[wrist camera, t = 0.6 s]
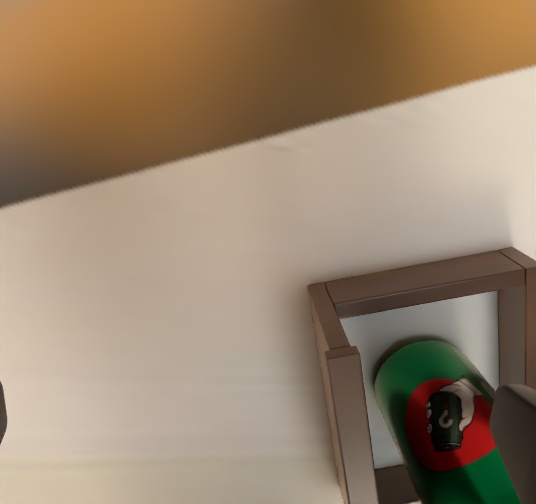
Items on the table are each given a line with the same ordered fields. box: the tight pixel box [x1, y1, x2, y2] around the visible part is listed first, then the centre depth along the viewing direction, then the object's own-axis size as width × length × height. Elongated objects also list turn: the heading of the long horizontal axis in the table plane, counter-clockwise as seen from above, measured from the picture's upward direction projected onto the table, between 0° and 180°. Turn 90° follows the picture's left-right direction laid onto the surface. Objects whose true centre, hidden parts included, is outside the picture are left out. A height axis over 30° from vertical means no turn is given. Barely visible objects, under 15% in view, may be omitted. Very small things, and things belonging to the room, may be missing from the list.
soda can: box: [375, 340, 521, 504], centre depth 20 cm, size 5×5×12 cm
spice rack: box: [308, 248, 536, 504], centre depth 22 cm, size 13×10×7 cm
